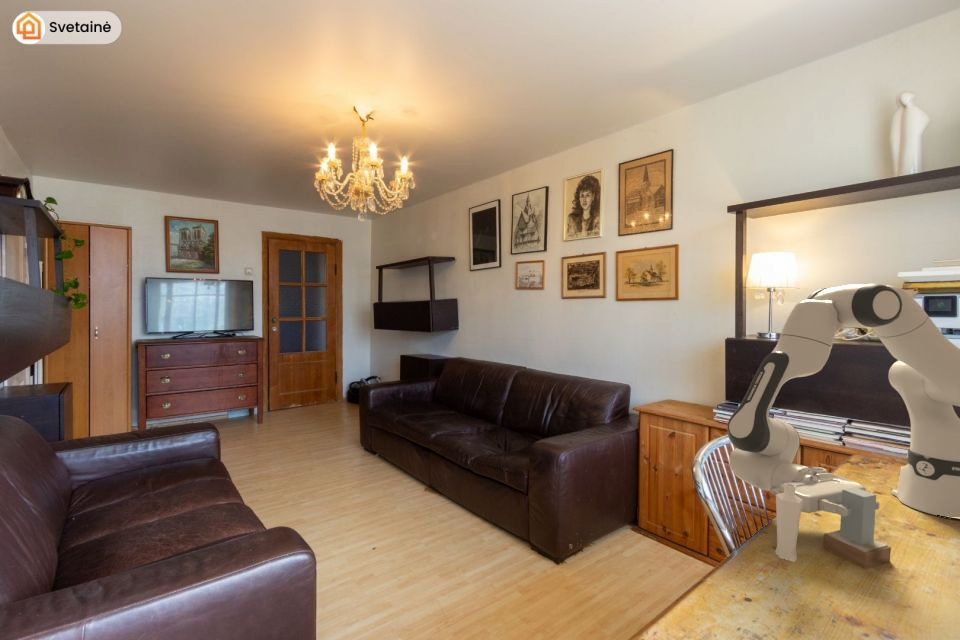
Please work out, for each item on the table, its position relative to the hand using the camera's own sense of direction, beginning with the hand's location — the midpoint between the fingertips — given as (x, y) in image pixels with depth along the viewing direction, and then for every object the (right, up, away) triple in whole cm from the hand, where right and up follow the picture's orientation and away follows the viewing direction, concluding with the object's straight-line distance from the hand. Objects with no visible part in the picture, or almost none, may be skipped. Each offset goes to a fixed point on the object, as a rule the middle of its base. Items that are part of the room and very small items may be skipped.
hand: (863, 509), depth 94 cm
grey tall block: (-1, -7, +1) cm, 7 cm away
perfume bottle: (-16, -10, 0) cm, 19 cm away
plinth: (-1, -10, +1) cm, 10 cm away
